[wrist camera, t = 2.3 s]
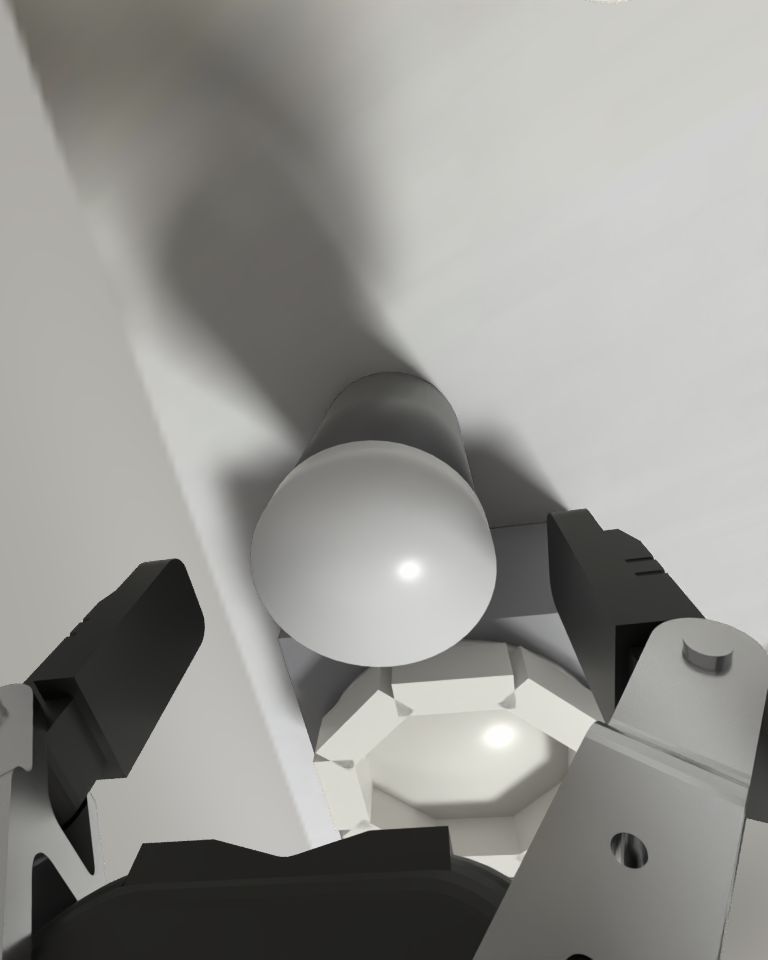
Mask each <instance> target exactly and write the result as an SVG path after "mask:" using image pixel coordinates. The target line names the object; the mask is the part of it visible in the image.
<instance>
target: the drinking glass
mask: <svg viewBox="0 0 768 960" xmlns="http://www.w3.org/2000/svg"><path fill="white" fill-rule="evenodd" d="M586 1H589V2H595V3H609V4H611V3H622V2H626V1H631V0H586Z"/></svg>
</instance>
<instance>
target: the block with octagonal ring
mask: <svg viewBox="0 0 768 960" xmlns="http://www.w3.org/2000/svg"><path fill="white" fill-rule="evenodd" d="M490 533H491V537H492V541H493V544H494V549H495V555H496V572H497V574H496V581H495V588H494V591H493V594H492V597H491V600H490V602H489V605H488V607H487V609H486V611H485V613H484V614H483V616H482V617H481V619H480V620H479V621H478V623H477V624H476V625H475V626H474V628H473V629H472V630H471V631H470V632H469V633H468V634H467V635H466V636H465V637H463V638H462V639H461V640H460V641H459V642H457V643H456V644H454V645H453V646H451V647H450V648H448V649H447V650H445V651H443V652H441V653H439V654H437V655H435V656H433V657H430V658H427V659H424V660H422V661H418V662H414V663H410V664H406V665H399V666H391V667H371V666H360V665H354V664H348V663H344V662H341V661H337V660H334V659H331V658H328V657H326V656H323V655H321V654H319V653H317V652H315V651H313V650H311V649H309V648H307V647H305V646H304V645H302V644H301V643H299V642H298V641H296V640H295V639H294V638H292V637H291V636H290V635H289V634H287V633H286V632H285V631H284V630H283V629H281V631H280V634H279V637H278V641H279V644H280V647H281V650H282V653H283V657H284V660H285V663H286V666H287V669H288V672H289V675H290V679H291V682H292V685H293V688H294V691H295V694H296V697H297V701H298V704H299V707H300V710H301V713H302V716H303V719H304V722H305V726H306V729H307V732H308V735H309V738H310V741H311V744H312V748H313V751H314V754H315V755H314V759H313V764H314V767H315V770H316V773H317V776H318V779H319V782H320V785H321V789H322V792H323V795H324V798H325V801H326V804H327V807H328V810H329V813H330V816H331V819H332V822H333V826H334V829H335V830H339V832H340V835H341V838H342V839H345V838H348V837H351V836H354V835H357V834H360V833H363V832H366V831H369V830H383V829H401V828H418V827H435V826H448V827H449V832H450V838H451V844H452V849H453V854H454V855H458V856H461V857H465V858H469V859H472V860H475V861H477V862H480V863H482V864H485V865H487V866H490V867H492V868H494V869H495V870H497V871H499V872H501V873H503V874H504V875H506V876H508V877H510V878H511V879H513V878H514V876H515V874H516V872H517V870H518V868H519V866H520V864H521V862H522V860H523V858H524V856H525V854H526V852H527V850H528V848H529V846H530V844H531V842H532V840H533V838H534V836H535V834H536V832H537V830H538V828H539V826H540V824H541V822H542V820H543V818H544V816H545V814H546V812H547V810H548V808H549V806H550V804H551V802H552V800H553V798H554V796H555V794H556V792H557V790H558V788H559V786H560V784H561V782H562V780H563V778H564V776H565V774H566V772H567V770H568V768H569V766H570V764H571V762H572V760H573V758H574V756H575V754H576V752H577V750H578V748H579V746H580V744H581V742H582V740H583V739H584V737H585V735H586V733H587V731H588V729H589V728H590V726H591V725H592V724H593V723H594V722H596V721H601V722H603V723H605V721H604V719H603V717H602V714H601V712H600V710H599V707H598V705H597V703H596V700H595V698H594V696H593V693H592V691H591V689H590V686H589V684H588V682H587V679H586V677H585V675H584V672H583V670H582V668H581V665H580V663H579V661H578V658H577V656H576V654H575V651H574V649H573V647H572V644H571V642H570V640H569V637H568V635H567V633H566V630H565V628H564V626H563V623H562V621H561V619H560V616H559V614H558V612H557V609H556V607H555V604H554V600H553V597H552V592H551V586H550V578H549V558H548V537H547V522H545V523H536V524H528V525H519V526H510V527H501V528H492V529H490Z"/></svg>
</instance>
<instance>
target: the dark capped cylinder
mask: <svg viewBox="0 0 768 960" xmlns="http://www.w3.org/2000/svg"><path fill="white" fill-rule="evenodd" d="M250 563H251V573H252V577H253V581H254V585H255V588H256V590H257V593H258V595H259V598H260V600H261V601H262V603H263V605H264V607H265V608H266V610H267V611H268V613H269V614H270V615H271V617H272V618H273V619H274V621H275V622H276V623H277V624H278V625H279V626H280V627H281V628H282V629H283V630H284V631H285V632H286V633H287V634H289V635H290V636H291V637H292V638H294V639H295V640H296V641H298V642H299V643H301V644H302V645H304V646H305V647H307V648H309V649H311V650H313V651H315V652H317V653H319V654H321V655H323V656H326V657H328V658H331V659H334V660H337V661H341V662H344V663H348V664H354V665H360V666H371V667H391V666H399V665H406V664H410V663H414V662H418V661H422V660H424V659H427V658H430V657H433V656H435V655H437V654H439V653H441V652H443V651H445V650H447V649H448V648H450V647H451V646H453V645H454V644H456V643H457V642H459V641H460V640H461V639H462V638H463V637H465V636H466V635H467V634H468V633H469V632H470V631H471V630H472V629H473V628H474V626H475V625H476V624H477V623H478V621H479V620H480V619H481V617H482V616H483V614H484V613H485V611H486V609H487V607H488V605H489V602H490V600H491V597H492V594H493V591H494V588H495V581H496V574H497V572H496V555H495V549H494V544H493V541H492V537H491V533H490V529H489V525H488V522H487V519H486V516H485V513H484V510H483V507H482V505H481V503H480V501H479V499H478V497H477V496H476V493H475V489H474V484H473V480H472V476H471V472H470V468H469V464H468V460H467V456H466V452H465V448H464V444H463V440H462V435H461V431H460V427H459V423H458V420H457V417H456V414H455V412H454V410H453V408H452V406H451V405H450V403H449V402H448V400H447V399H446V398H445V397H444V396H443V394H442V393H441V392H440V391H439V390H437V389H436V388H435V387H434V386H432V385H431V384H429V383H428V382H426V381H424V380H422V379H420V378H418V377H415V376H412V375H409V374H404V373H398V372H384V373H377V374H372V375H369V376H366V377H363V378H361V379H359V380H357V381H355V382H353V383H352V384H351V385H349V386H348V387H346V388H345V389H344V390H343V391H342V392H341V393H340V394H339V395H338V396H337V398H336V399H335V400H334V402H333V403H332V405H331V407H330V408H329V410H328V412H327V413H326V415H325V417H324V419H323V420H322V422H321V424H320V425H319V427H318V429H317V431H316V432H315V434H314V436H313V437H312V439H311V441H310V443H309V444H308V446H307V448H306V450H305V451H304V453H303V455H302V456H301V458H300V460H299V462H298V463H297V465H296V467H295V468H294V469H293V470H292V471H291V472H290V473H289V474H288V475H287V476H286V478H285V479H284V480H283V481H282V483H281V484H280V485H279V487H278V488H277V490H276V492H275V493H274V495H273V496H272V498H271V500H270V501H269V503H268V505H267V506H266V508H265V510H264V511H263V513H262V515H261V517H260V518H259V520H258V523H257V526H256V528H255V531H254V534H253V538H252V543H251V553H250Z"/></svg>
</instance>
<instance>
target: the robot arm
mask: <svg viewBox="0 0 768 960" xmlns="http://www.w3.org/2000/svg"><path fill="white" fill-rule="evenodd" d="M547 537H548V558H549V578H550V586H551V592H552V597H553V600H554V604H555V607H556V609H557V612H558V614H559V616H560V619H561V621H562V623H563V626H564V628H565V630H566V633H567V635H568V637H569V640H570V642H571V644H572V647H573V649H574V651H575V654H576V656H577V658H578V661H579V663H580V665H581V668H582V670H583V672H584V675H585V677H586V679H587V682H588V684H589V686H590V689H591V691H592V693H593V696H594V698H595V700H596V703H597V705H598V707H599V710H600V712H601V714H602V717H603V719H604V721H605V723H603V722H601V721H596V722H594V723H593V724H592V725H591V726H590V728H589V729H588V731H587V733H586V735H585V737H584V739H583V740H582V742H581V744H580V746H579V748H578V750H577V752H576V754H575V756H574V758H573V760H572V762H571V764H570V766H569V768H568V770H567V772H566V774H565V776H564V778H563V780H562V782H561V784H560V786H559V788H558V790H557V792H556V794H555V796H554V798H553V800H552V802H551V804H550V806H549V808H548V810H547V812H546V814H545V816H544V818H543V820H542V822H541V824H540V826H539V828H538V830H537V832H536V834H535V836H534V838H533V840H532V842H531V844H530V846H529V848H528V850H527V852H526V854H525V856H524V858H523V860H522V862H521V864H520V866H519V868H518V870H517V872H516V874H515V876H514V878H513V879H511V878H510V877H508V876H506V875H504V874H503V873H501V872H499V871H497V870H495V869H494V868H492V867H490V866H487V865H485V864H482V863H480V862H477V861H475V860H472V859H469V858H465V857H461V856H458V855H454V854H453V849H452V844H451V838H450V832H449V827H448V826H435V827H418V828H401V829H383V830H369V831H366V832H363V833H360V834H357V835H354V836H351V837H348V838H345V839H342V840H339V841H336V842H333V843H330V844H327V845H324V846H321V847H318V848H315V849H312V850H309V851H306V852H303V853H300V854H297V855H294V856H290V857H278V856H274V855H270V854H267V853H263V852H259V851H256V850H252V849H248V848H244V847H240V846H237V845H233V844H229V843H226V842H222V841H218V840H214V839H212V840H197V841H196V840H195V841H178V842H161V843H143V844H142V846H141V848H140V850H139V852H138V855H137V857H136V859H135V861H134V863H133V865H132V867H131V870H130V872H129V874H128V875H127V876H124V877H122V878H120V879H117V880H115V881H113V882H111V883H109V884H107V880H106V873H105V866H104V858H103V850H102V842H101V835H100V827H99V820H98V813H97V805H96V801H95V799H94V797H93V796H92V794H91V792H90V790H91V788H92V786H93V785H94V783H95V781H96V780H101V779H114V778H126V777H127V776H128V774H129V772H130V771H131V769H132V767H133V765H134V763H135V761H136V760H137V758H138V756H139V754H140V753H141V751H142V749H143V747H144V745H145V744H146V742H147V740H148V738H149V737H150V735H151V733H152V731H153V729H154V728H155V726H156V724H157V722H158V720H159V719H160V717H161V715H162V713H163V711H164V710H165V708H166V706H167V704H168V702H169V701H170V699H171V697H172V695H173V694H174V691H175V690H176V688H177V686H178V685H179V683H180V681H181V679H182V677H183V676H184V674H185V672H186V670H187V668H188V667H189V665H190V663H191V661H192V660H193V658H194V656H195V654H196V652H197V651H198V649H199V647H200V645H201V643H202V640H203V637H204V631H205V630H204V629H205V624H204V617H203V613H202V611H201V608H200V605H199V602H198V600H197V597H196V594H195V592H194V589H193V586H192V583H191V581H190V578H189V576H188V573H187V570H186V568H185V565H184V564H183V563H182V561H180V560H179V559H167V560H159V561H151V562H144V563H141V564H140V565H139V566H138V567H137V568H136V569H135V570H134V571H133V572H132V574H131V575H130V576H129V577H128V578H127V579H126V580H125V581H124V582H123V584H121V586H120V587H119V588H118V589H117V590H116V591H114V592H113V593H112V594H110V595H109V596H107V597H106V598H104V599H103V600H102V601H100V602H99V603H98V604H97V605H96V606H95V607H94V608H93V609H92V610H91V611H90V612H89V613H88V614H87V616H86V617H85V618H84V619H83V622H82V623H79V624H78V625H77V626H76V627H75V628H74V629H73V630H72V632H71V633H70V637H66V638H65V639H64V640H63V641H62V642H61V643H60V644H59V646H58V647H57V648H56V649H55V650H54V651H53V652H52V653H51V654H50V655H49V656H48V657H47V658H46V659H45V660H44V662H43V663H42V664H41V665H40V666H39V667H38V668H37V669H36V670H35V671H34V672H33V673H32V674H31V675H30V677H29V678H28V679H27V680H26V681H25V682H24V683H23V684H10V685H6V686H2V687H0V960H721V958H722V953H723V947H724V941H725V935H726V930H727V924H728V919H729V913H730V908H731V902H732V896H733V891H734V885H735V880H736V874H737V869H738V863H739V857H740V852H741V846H742V841H743V835H744V830H745V824H746V819H747V818H749V819H753V820H757V821H761V822H765V823H768V654H767V653H766V651H765V650H764V649H763V647H762V646H761V645H760V644H759V643H758V642H757V641H755V640H754V639H753V638H752V637H750V636H749V635H747V634H746V633H744V632H742V631H740V630H738V629H736V628H734V627H732V626H729V625H727V624H723V623H720V622H717V621H713V620H708V619H706V618H705V617H704V616H703V615H702V614H701V612H700V611H699V610H698V609H697V608H696V607H695V605H694V604H693V603H692V602H691V601H690V599H689V598H688V597H687V596H686V595H685V594H684V592H683V591H682V590H681V589H680V588H679V586H678V585H677V584H676V583H675V582H674V581H673V579H672V578H671V577H670V576H669V575H668V573H665V571H664V569H663V567H662V566H661V565H660V564H659V563H658V562H657V560H654V559H653V556H652V554H651V553H650V552H649V551H648V550H647V549H646V547H645V546H644V545H643V544H642V543H641V541H639V540H637V539H636V538H634V537H632V536H630V535H628V534H626V533H624V532H623V531H621V530H619V529H614V530H606V531H603V530H602V528H601V527H600V526H599V524H598V523H597V522H596V520H595V519H594V517H593V516H592V515H591V513H590V512H589V511H588V510H587V509H578V510H570V511H562V512H554V513H549V514H548V516H547Z"/></svg>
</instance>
